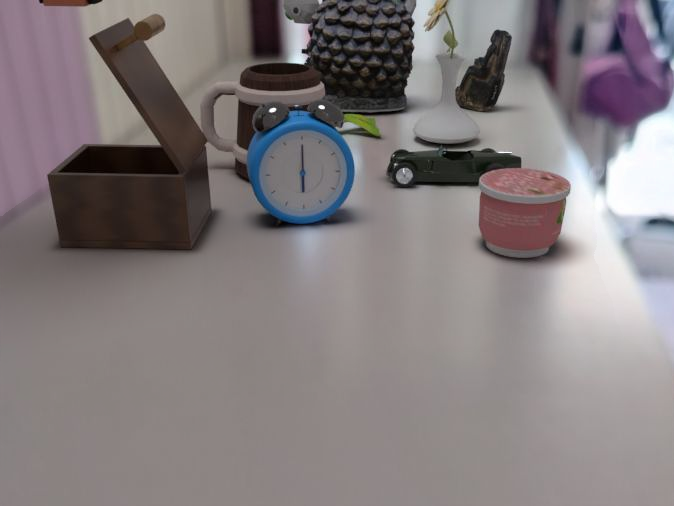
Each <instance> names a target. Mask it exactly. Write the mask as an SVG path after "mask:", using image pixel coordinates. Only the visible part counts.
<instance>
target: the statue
mask: <svg viewBox="0 0 674 506" xmlns="http://www.w3.org/2000/svg"><path fill="white" fill-rule="evenodd" d="M489 40H490V41H489V42H490V45H489V46H488V48H487V49H486V53H485V55H484V56H478V57H476V58H474V62H473V64H472V65H469V66H468V67H467V69H466V71H465V73H464V75H463V76H462V79H461V81H460V84H459V85H458V86H456V88H455V97H456V102H457V104H458V105H459V107H463V108H467V109H468V110H469V109H470V110H473V111H478V112H487V111H489V110H491V109H493V108H494V107H495V106H496V104H497V103H498V100H499V97H500V96H501V93H502V91H503V87H504V85H505V81H506V80H505V77H506V74H505V70H506V65H507V62H508V58H509V53H510V51H511V46H512V41H513V37H512V35H511V33H509V32H508V31H507V30H504V29H503V30H501V29H498V28H497V29H495V30H494V31H493V32H492V34H491V37H490V39H489Z"/></svg>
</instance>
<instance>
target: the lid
mask: <svg viewBox="0 0 674 506" xmlns="http://www.w3.org/2000/svg"><path fill="white" fill-rule="evenodd" d="M165 28H166V20H165V18H164V17H163V16H162V15H161V14H159V13H152V14H151V15H148V16H147V17H145V18H143V19H141V20H139V21H137V22H136V23H135V24H133V23H132V21H131V19H130V18H129V17H127V18H125V19H123V20H121V21H119V22H116V23H114V24H112V25H110V26H108V27H106V28H104V29H103V30H100V31H98V32H96V33H94V34H93V35H91V36H89V37H88V40H89V42H90V43H91V44H92V46H93V47H94V49H95V50H96V51H97V53H98V55H99V57H100V58H101V59H102V61H103V62H104V64H105V65H106V66H107V68H108V69H109V72H111V74H112V75H113V77H114V79H115V80H116V81H117V83H118V84H119V86H120V87H121V88H122V90H123V91H124V93H125V94H126V96H127V97H128V99H129V101H130V102H131V103H132V104H133V106H134V108H135V110H136V111H137V112H138V114H139V116H140V117H141V118H142V119H143V121H144V123H145V124H146V125H147V127H148V128H149V130H150V131H151V133H152V135H153V136H154V138H155V139H156V140H157V142H158V143H159V145H161V146H162V148H163V149H164V151H165V152H166V154H167V155H168V156H169V158H170V159H171V161H172V162H173V164H174V165H175V167H176V168H177V170H178V171H179V173H180V174H183V173H184V172H186V171H187V169H188V168H189V167H190V165H191V164H192V162H193V161H194V160H195V158H196V157H197V155H198V154H199V153H200V151H201V150H202V149H203V147H204V146H206V144H207V143H209V142H208V140H207V138H206V137H205V135H204V134H203V131H202V128H201V126H199V124H198V123H197V122H196V119H195V118H194V117H193V115H192V114H191V111H190V110H189V109H188V107H187V106H186V104H185V103H184V101H183V100H182V98H181V97H180V95H179V93H178V92H177V90H176V89H175V87H174V86H173V84H172V83H171V81H170V80H169V77H167V74H166V73H165V72H164V70H163V68H162V67H161V66H160V63H159V62H158V61H157V59H156V58H155V56H154V54H153V53H152V51H151V50H150V49H149V47H148V46H147V44H146V41H149V40H150V39H152V38H154V37H155V36H157V35H159V34H160V33H162V32H163V31H164V30H165Z"/></svg>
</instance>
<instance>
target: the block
mask: <svg viewBox="0 0 674 506" xmlns="http://www.w3.org/2000/svg"><path fill="white" fill-rule="evenodd" d="M43 3H44V4H43ZM43 3H42V4H43V6H44V7H83V8H84V7H88V6H90V5H92V4H89V3H88V2H87V0H43Z"/></svg>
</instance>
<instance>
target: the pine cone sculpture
mask: <svg viewBox="0 0 674 506" xmlns="http://www.w3.org/2000/svg"><path fill="white" fill-rule="evenodd" d="M416 8H417V0H322V1H321V3H319V5H318V8H317V9H316V10H315V11H314V15H313V16H312V17H311V19H312V23H311V24H308V27H307V33H308V35H309V37H310V38H309V40H308V42H307V44H306V49H308V50H309V51H310V53H311V60H310V63H311V65H312V66H313V68H314V69H315V70H316V71H318V72H319V77H320V81H321V82H322V83H323V84H324V88H325V96H324V97H323V99H326V100H328V101H332V100H334V104H336V105H337V106H339V108H340V109H341V110H342V112H343V113H349V112H350V113H359V112H360V113H378V112H382V113H383V112H392V111H393V112H395V111H400V110H405V108H406V106H407V103H408V98H407V95H406V93H405V92H406V91H405V90H406V88H407V86H408V79H409V78H410V75H411V74H412V71H413V68H414V67H413V52H414V50H415V48H416V47H415V45H414V43H413V41H414V39H415V31H414V30H413V28H414V26H415V24H416V22H415V20H414V19H413V14H414V12H415V10H416Z"/></svg>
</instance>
